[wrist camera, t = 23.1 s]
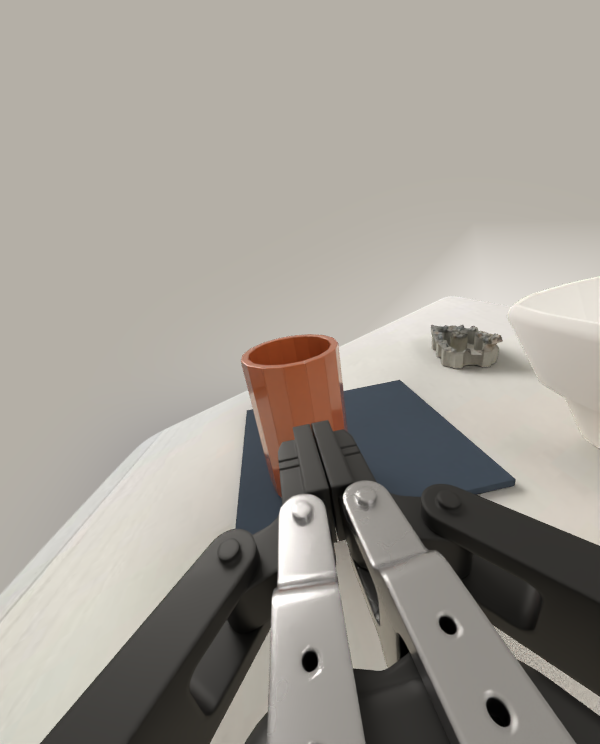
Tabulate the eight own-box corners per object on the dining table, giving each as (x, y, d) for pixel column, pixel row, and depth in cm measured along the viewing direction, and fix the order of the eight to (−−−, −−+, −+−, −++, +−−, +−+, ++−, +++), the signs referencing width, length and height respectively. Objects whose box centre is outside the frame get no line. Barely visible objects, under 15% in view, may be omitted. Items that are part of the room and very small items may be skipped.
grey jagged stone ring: (502, 368, 36) (507, 338, 35) (438, 370, 38) (439, 342, 37) (479, 342, 45) (481, 317, 44) (428, 344, 48) (429, 321, 46)
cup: (273, 514, 20) (237, 376, 16) (271, 455, 26) (244, 344, 22) (362, 495, 21) (349, 354, 16) (339, 441, 27) (326, 329, 22)
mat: (235, 550, 19) (233, 543, 19) (247, 414, 35) (246, 410, 35) (514, 485, 20) (516, 479, 20) (399, 383, 37) (399, 379, 36)
